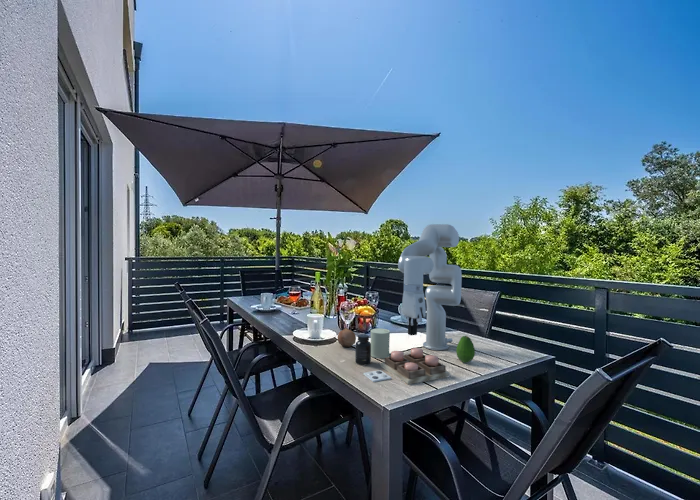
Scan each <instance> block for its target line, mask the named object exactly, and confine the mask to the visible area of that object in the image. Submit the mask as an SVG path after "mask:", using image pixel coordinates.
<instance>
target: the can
mask: <svg viewBox="0 0 700 500" xmlns="http://www.w3.org/2000/svg"><path fill="white" fill-rule="evenodd" d="M390 333H391V331H390V330H389V329H386V328H379V327H378V328H373V329H370V343H371V358H375V359H385V358H386V357H391V354H390V338H391V337H390Z"/></svg>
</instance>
